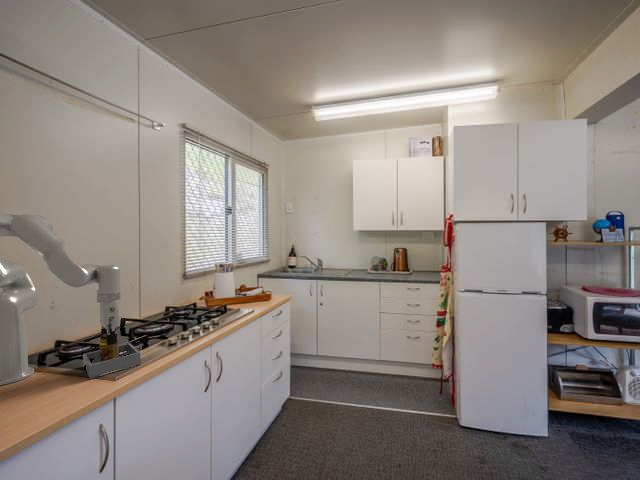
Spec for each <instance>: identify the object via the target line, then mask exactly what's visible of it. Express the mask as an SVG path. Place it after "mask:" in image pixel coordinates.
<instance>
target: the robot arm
mask: <svg viewBox="0 0 640 480" xmlns="http://www.w3.org/2000/svg"><path fill="white" fill-rule="evenodd" d="M53 229H54V225H53V223H52V221H51V219H50V218H47V217H46V216H44V215H43V216H42V215H37V214H10V213H9V214H7V213H0V237H17V238H18V239H20V241H22V242H23V243H24V244H26V245H27V246H28V247H30V248H31V250H33V251H34V252H36V253H37V254H38V255H39V256H41V258H42V260H43V262H44V264H45V266H46V267H47V269H48V270H49V271H50V272H51V273H52V274H53V275H54V276H55V277H56V278H57V279H59V280H60V281H61V282H63V283H65V284H66V285H67V286H70V287H72V288H81V287H86V286H87V285H89V286H90V285H92V284H95V283H96V303H99V322H100V326H101V327H100V336H101V335H103V334H106V333H107V334H108V335H107V345H113V344H116V343H117V340H118V331H117V328H119V327H120V325H121V324H120V323H121V321H120V305H119V301H121V267H120V266H119V265H117V264H116V265H115V264H107V265H106V264H104V265H103V264H102V265H99V264H98V265H97V264H89V263H88V264H84V265H79V263H76V262H75V261H74V260H73V259H72V258H71V257H70V256H69V255H68V254H67V252H66V250H65V249H66V241H65V240H64V239H63V238H61V236H60V235H58V234H57V233H55V232H54V230H53ZM0 289H2V291H0V386H4V385H9V384H12V383H16V382H19V381H22V380H25V379H26V378H28V377H30V376H32V375H33V374H34V373H35V368H34V367H31V366H29V357H28V339H27V338H28V335H27V325H26V321H25V319H24V316H23V315H22V313H24V312H28V311H30V310H32V309H33V308H35V307H36V306H37V304H38V303H39V298H40V297H39V294H38V293H39V292H38V290H37V288H36V286H35V284H34V282H33V280H32V278H31V276H30V274H29V272H28V270H27V269H26V267H25V266H23V264H21V263H19V262H17V261H13V260H4V259H3V257H2V256H1V255H0Z"/></svg>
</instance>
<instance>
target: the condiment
mask: <svg viewBox="0 0 640 480" xmlns="http://www.w3.org/2000/svg"><path fill="white" fill-rule="evenodd" d="M107 335H108V334H107V333H106V334H103V335H101V334H100V336H99V338H100V342H99V344H98V345H99V350H100V362H103V361H107V360H111V359H115V358H118V357H119V350H118V346H119V340H118V339H117V343H116V344H113V345H107Z"/></svg>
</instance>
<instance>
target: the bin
mask: <svg viewBox="0 0 640 480" xmlns="http://www.w3.org/2000/svg"><path fill="white" fill-rule="evenodd" d="M118 350H119V353H120V352H124V351H129V355H126V356H122V357H118V358H115V359H111V360H107V361H103V362H100V349H99V350H95V351H90V352H87V353H83V354H82V367H83V368H84V366H85V365H86V371H87V372H88V374H87V377H88V378H89V380H94V379H97V378H100V377H99V376H100V375H102V374H104V373H107V372H111V371H114V370H118V369H122V368H127V367H131V366H134V365H139V364H141V365H142V363H141V359H142V358H141V352H140V350H138V349H137V348H136V347H135V346H134V345H133V344H131V342H129V343H124V344H121V345H119V344H118ZM88 358H94V360H93V363H91V362H90V360H89V359H88ZM139 366H140V365H139ZM86 371H85V372H86Z"/></svg>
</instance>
